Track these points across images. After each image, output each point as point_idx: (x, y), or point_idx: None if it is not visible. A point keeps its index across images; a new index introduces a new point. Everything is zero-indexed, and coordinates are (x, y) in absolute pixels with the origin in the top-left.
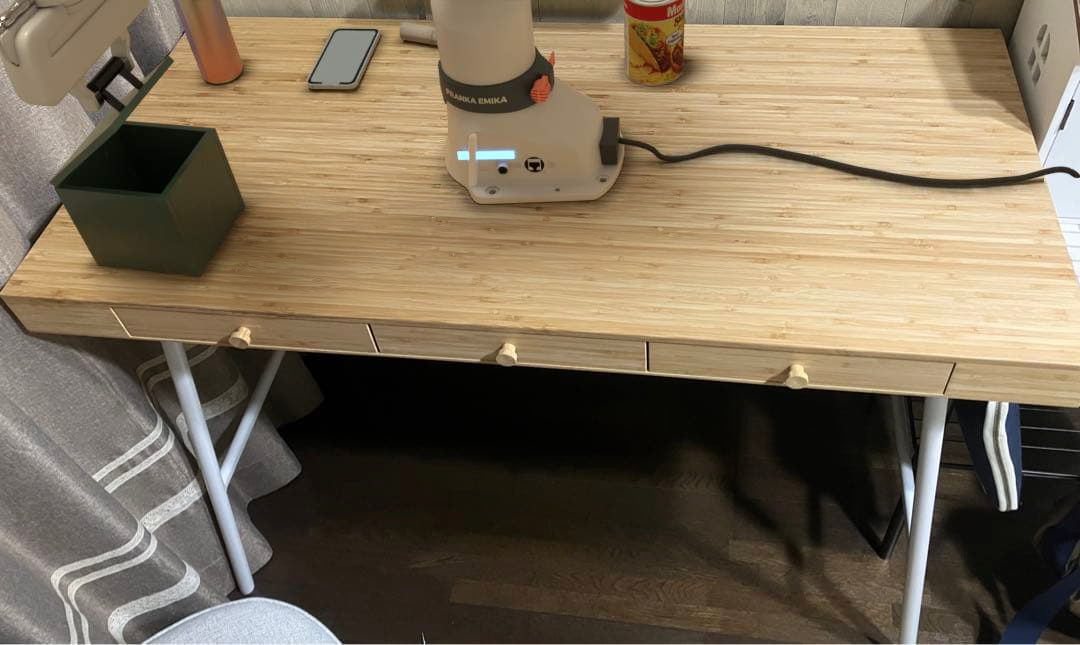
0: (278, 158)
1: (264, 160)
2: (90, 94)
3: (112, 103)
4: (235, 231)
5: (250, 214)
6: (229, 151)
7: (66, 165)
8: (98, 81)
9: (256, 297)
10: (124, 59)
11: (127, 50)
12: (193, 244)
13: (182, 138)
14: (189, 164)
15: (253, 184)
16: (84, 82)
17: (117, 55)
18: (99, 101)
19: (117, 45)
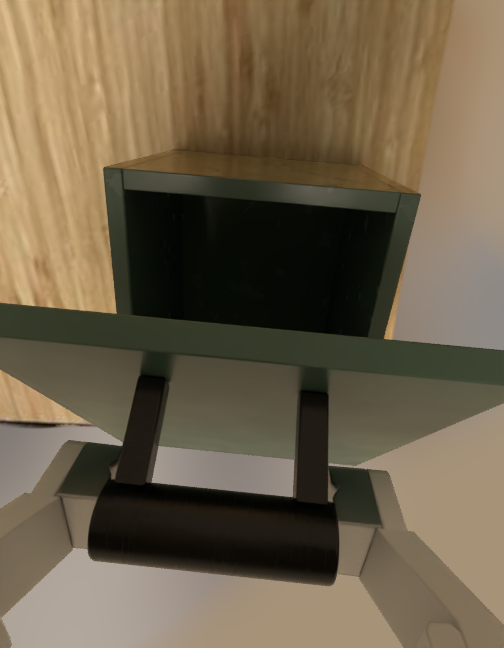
0: (33, 132)
1: (47, 160)
2: (413, 549)
3: (328, 437)
4: (242, 143)
5: (194, 130)
6: (44, 238)
7: (371, 455)
8: (310, 552)
9: (427, 16)
10: (74, 500)
11: (19, 516)
12: (354, 170)
13: (139, 262)
14: (269, 181)
15: (114, 157)
16: (450, 638)
17: (60, 536)
18: (361, 488)
19: (12, 573)
